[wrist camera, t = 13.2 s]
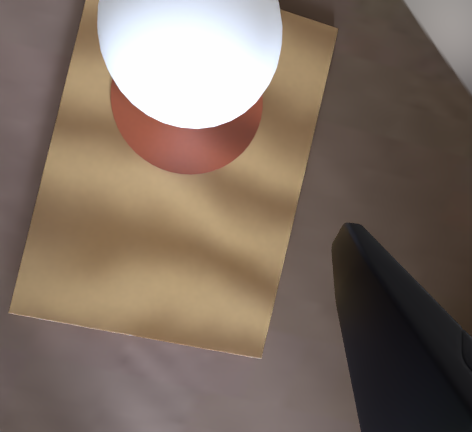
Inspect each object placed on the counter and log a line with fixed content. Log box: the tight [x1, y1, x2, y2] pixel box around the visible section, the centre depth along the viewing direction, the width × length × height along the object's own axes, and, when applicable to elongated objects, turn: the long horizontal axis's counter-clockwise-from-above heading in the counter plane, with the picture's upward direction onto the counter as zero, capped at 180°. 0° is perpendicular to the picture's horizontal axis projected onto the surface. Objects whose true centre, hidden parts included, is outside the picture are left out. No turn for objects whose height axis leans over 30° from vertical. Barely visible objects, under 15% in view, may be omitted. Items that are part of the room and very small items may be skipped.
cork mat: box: [9, 0, 338, 359], centre depth 21 cm, size 20×14×1 cm
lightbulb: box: [97, 0, 282, 129], centre depth 15 cm, size 6×6×11 cm
